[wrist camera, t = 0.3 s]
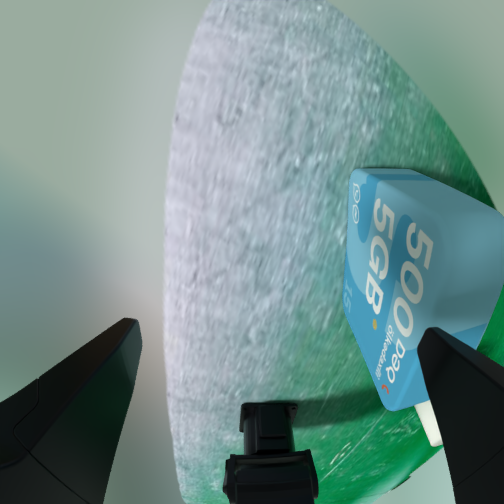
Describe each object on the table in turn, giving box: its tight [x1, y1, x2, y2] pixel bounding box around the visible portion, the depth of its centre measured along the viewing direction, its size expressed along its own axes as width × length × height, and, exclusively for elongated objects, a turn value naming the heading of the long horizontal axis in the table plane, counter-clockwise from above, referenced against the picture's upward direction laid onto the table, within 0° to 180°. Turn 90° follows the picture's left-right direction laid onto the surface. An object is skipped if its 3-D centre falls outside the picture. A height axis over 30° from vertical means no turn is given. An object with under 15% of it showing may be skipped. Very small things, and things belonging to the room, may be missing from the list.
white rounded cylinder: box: [414, 400, 443, 446], centre depth 25 cm, size 6×6×10 cm
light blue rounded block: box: [342, 168, 504, 411], centre depth 16 cm, size 12×4×12 cm, turn 4°
